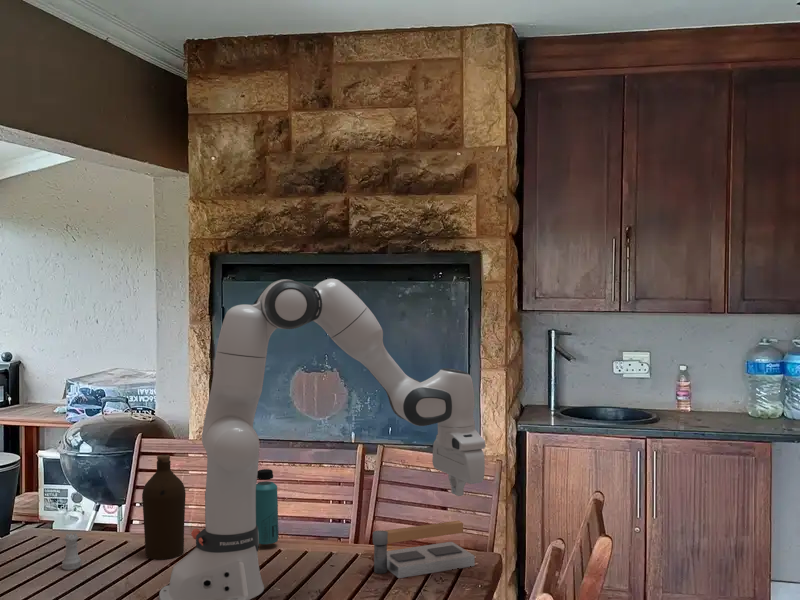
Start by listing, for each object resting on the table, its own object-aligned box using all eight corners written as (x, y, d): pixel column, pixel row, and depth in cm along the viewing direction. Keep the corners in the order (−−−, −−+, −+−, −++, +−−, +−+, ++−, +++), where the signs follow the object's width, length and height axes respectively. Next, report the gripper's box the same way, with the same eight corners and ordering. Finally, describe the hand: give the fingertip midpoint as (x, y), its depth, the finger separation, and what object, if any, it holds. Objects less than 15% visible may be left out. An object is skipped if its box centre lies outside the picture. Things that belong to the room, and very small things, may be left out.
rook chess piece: (57, 568, 198) (57, 535, 198) (72, 563, 202) (72, 530, 202) (70, 571, 196) (70, 538, 196) (85, 566, 200) (85, 533, 200)
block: (384, 580, 188) (384, 552, 188) (365, 564, 199) (365, 537, 199) (474, 565, 198) (474, 539, 198) (451, 551, 209) (451, 525, 209)
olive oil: (193, 554, 208) (192, 455, 208) (154, 563, 201) (153, 462, 201) (173, 544, 216) (172, 449, 216) (135, 553, 209) (134, 455, 208)
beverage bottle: (273, 551, 210) (273, 473, 210) (249, 549, 211) (248, 472, 211) (282, 543, 216) (281, 467, 216) (258, 541, 218) (258, 466, 217)
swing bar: (376, 546, 192) (376, 535, 192) (370, 541, 195) (370, 531, 195) (464, 533, 201) (464, 523, 201) (457, 529, 205) (457, 519, 205)
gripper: (425, 430, 203) (426, 486, 203) (464, 445, 184) (465, 506, 185) (448, 428, 206) (449, 483, 206) (489, 442, 187) (490, 503, 187)
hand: (457, 494), depth 195 cm, fingers closed
